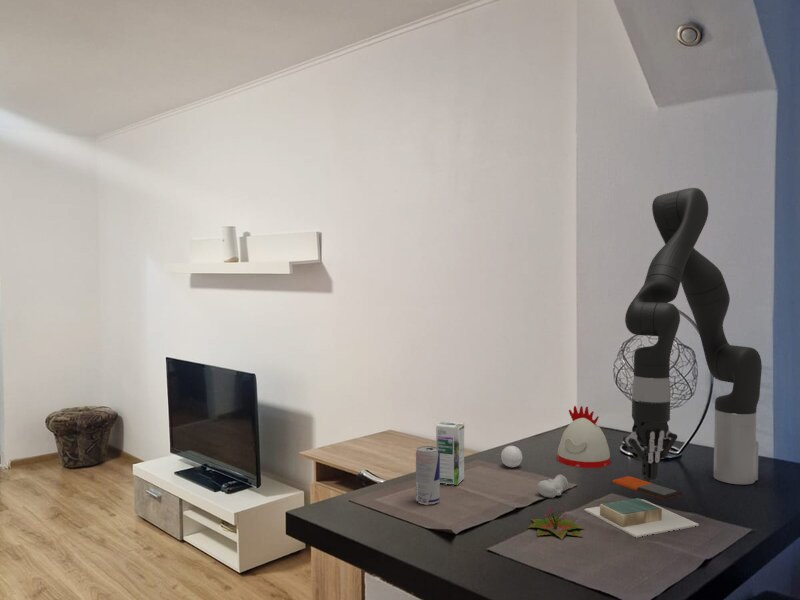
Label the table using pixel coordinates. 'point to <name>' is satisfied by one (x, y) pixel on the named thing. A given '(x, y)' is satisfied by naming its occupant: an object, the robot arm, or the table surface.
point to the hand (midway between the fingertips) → (649, 479)
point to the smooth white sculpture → (552, 486)
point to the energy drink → (428, 474)
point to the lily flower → (556, 525)
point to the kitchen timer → (583, 442)
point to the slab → (630, 512)
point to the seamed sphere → (511, 456)
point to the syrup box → (451, 451)
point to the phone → (647, 487)
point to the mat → (650, 523)
